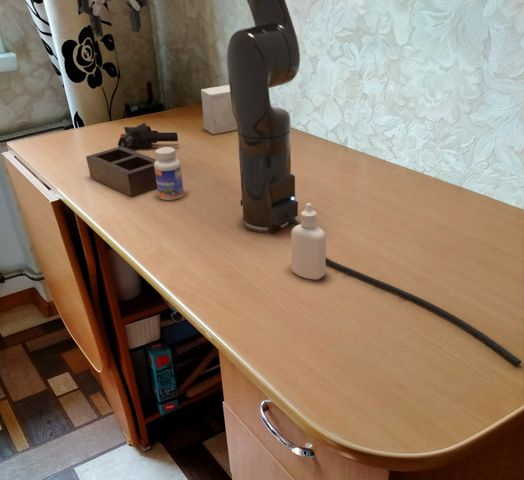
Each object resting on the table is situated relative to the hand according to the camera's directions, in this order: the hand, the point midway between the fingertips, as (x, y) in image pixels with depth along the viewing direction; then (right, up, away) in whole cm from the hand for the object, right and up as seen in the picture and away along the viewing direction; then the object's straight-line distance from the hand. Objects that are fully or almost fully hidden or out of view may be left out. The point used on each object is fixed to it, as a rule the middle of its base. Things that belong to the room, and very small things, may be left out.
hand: (118, 34), depth 119 cm
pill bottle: (+11, -33, +4) cm, 35 cm away
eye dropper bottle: (+38, -53, -25) cm, 70 cm away
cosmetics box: (+20, -5, +40) cm, 45 cm away
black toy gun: (+1, -13, +31) cm, 33 cm away
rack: (-1, -27, +11) cm, 30 cm away
